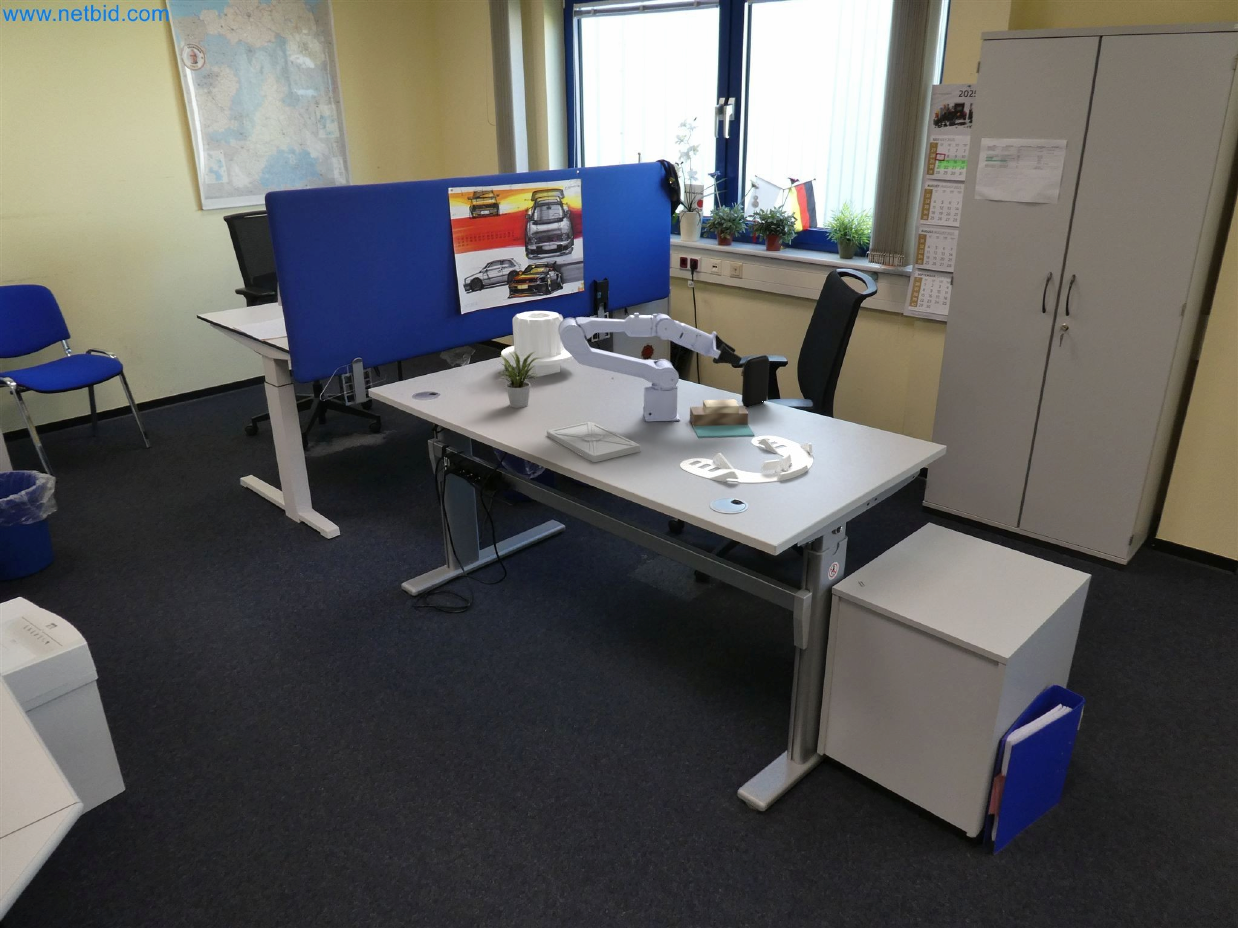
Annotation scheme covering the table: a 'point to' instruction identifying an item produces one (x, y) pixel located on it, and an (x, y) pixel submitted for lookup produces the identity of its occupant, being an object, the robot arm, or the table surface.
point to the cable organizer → (790, 454)
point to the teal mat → (723, 431)
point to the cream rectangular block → (720, 406)
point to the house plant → (518, 381)
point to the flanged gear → (538, 342)
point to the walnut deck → (718, 417)
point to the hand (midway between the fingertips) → (736, 357)
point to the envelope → (593, 441)
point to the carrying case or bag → (755, 381)
